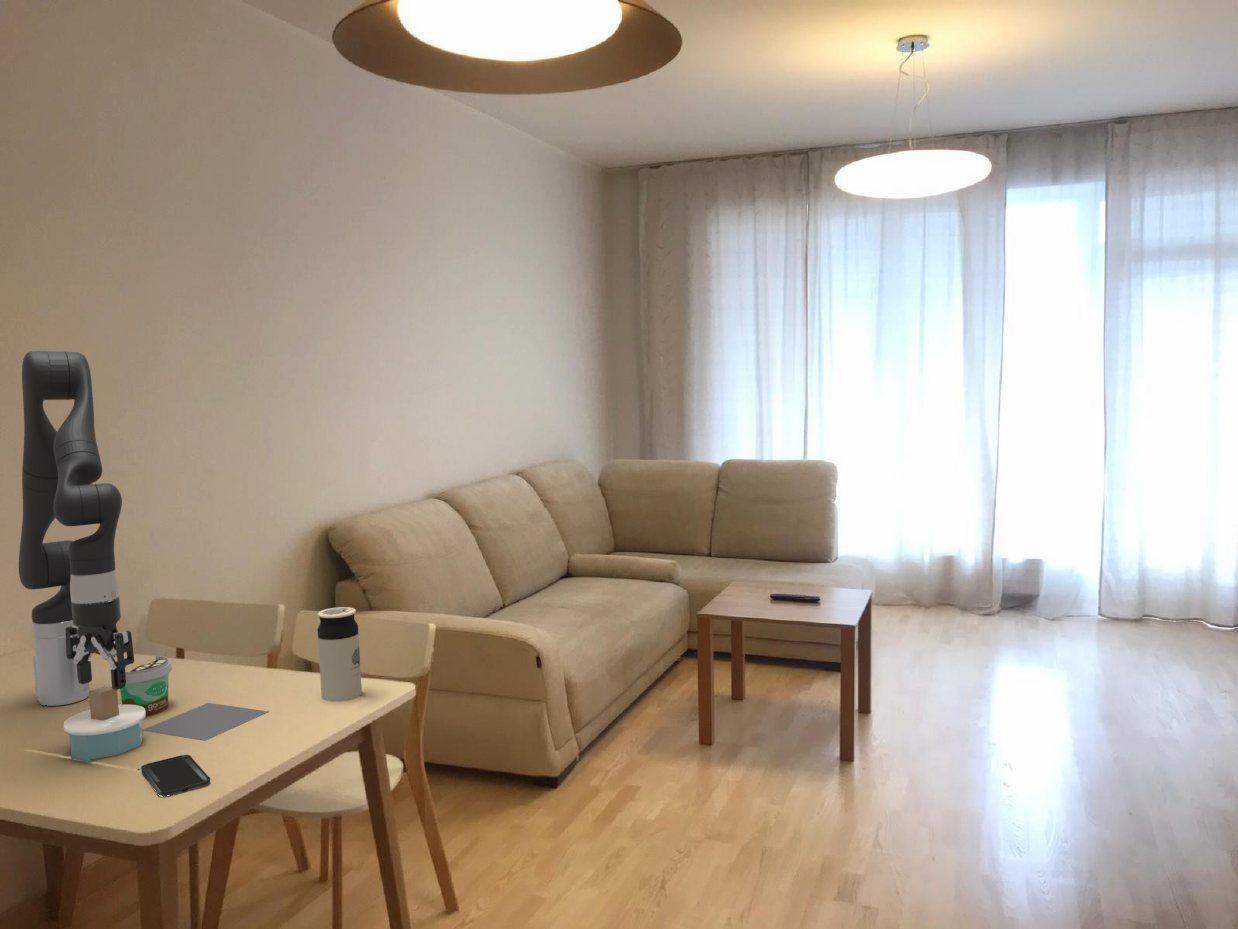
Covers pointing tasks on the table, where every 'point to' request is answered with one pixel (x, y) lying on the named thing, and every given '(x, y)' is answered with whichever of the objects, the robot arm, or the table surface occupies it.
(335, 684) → the travel mug
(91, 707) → the lid
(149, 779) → the phone
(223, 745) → the table surface
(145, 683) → the food container
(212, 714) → the mat
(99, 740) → the bowl
